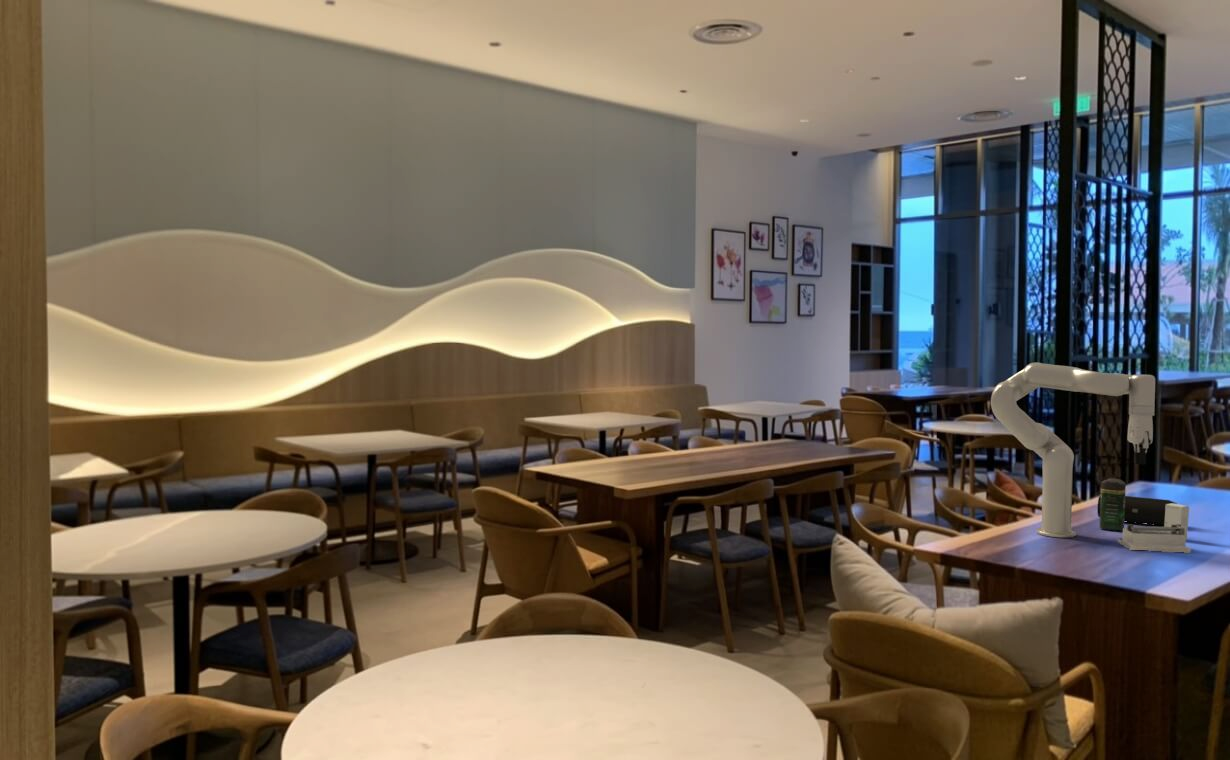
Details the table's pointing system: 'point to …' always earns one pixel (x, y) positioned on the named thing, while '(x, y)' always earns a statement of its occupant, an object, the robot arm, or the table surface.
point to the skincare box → (1177, 516)
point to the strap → (1155, 528)
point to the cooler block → (1155, 540)
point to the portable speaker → (1143, 510)
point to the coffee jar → (1112, 504)
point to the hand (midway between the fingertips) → (1140, 463)
